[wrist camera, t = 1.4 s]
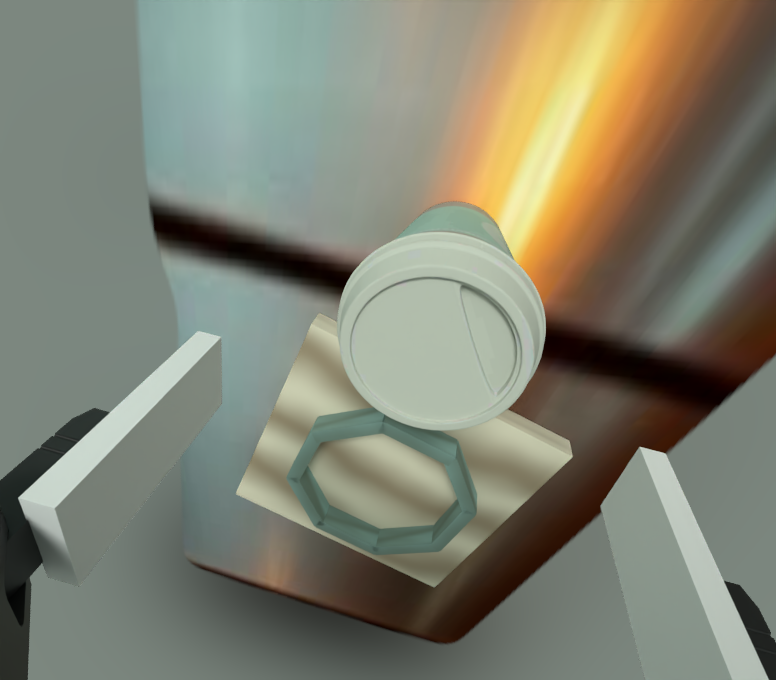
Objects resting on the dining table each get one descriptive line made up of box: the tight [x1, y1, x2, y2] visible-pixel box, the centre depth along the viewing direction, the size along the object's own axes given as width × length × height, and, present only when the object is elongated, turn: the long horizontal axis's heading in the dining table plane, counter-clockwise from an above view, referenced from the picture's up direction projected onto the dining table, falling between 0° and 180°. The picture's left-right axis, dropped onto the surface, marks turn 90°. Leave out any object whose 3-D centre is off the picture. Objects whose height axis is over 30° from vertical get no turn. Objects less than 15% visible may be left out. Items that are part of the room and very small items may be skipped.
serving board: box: [236, 313, 573, 588], centre depth 37 cm, size 20×20×3 cm
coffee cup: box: [337, 202, 546, 431], centre depth 23 cm, size 8×9×12 cm
